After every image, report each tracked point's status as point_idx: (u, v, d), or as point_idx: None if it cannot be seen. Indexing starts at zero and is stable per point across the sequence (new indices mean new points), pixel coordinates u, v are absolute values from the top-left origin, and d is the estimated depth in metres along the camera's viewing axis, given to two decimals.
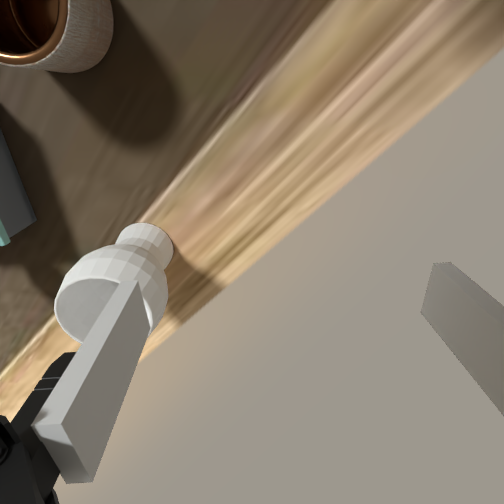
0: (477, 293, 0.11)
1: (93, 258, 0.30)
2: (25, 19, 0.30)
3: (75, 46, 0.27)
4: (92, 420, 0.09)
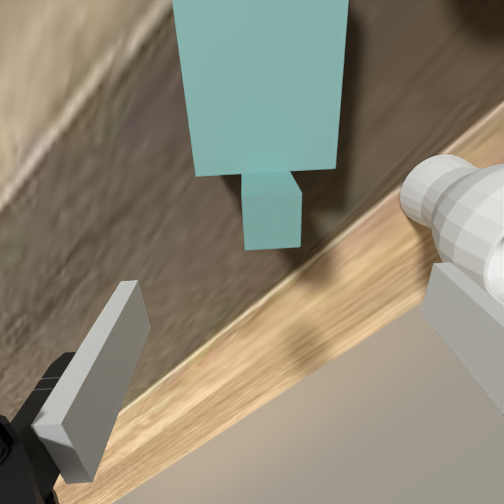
0: (477, 293, 0.11)
1: None
2: None
3: None
4: (92, 420, 0.09)
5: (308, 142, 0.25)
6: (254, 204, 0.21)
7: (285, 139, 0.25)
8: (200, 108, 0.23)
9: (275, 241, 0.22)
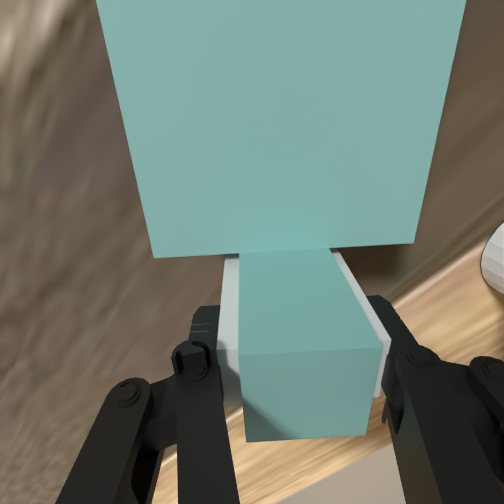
0: None
1: None
2: None
3: None
4: None
5: (367, 198, 0.13)
6: (267, 368, 0.09)
7: (323, 193, 0.13)
8: (154, 136, 0.11)
9: (313, 427, 0.10)
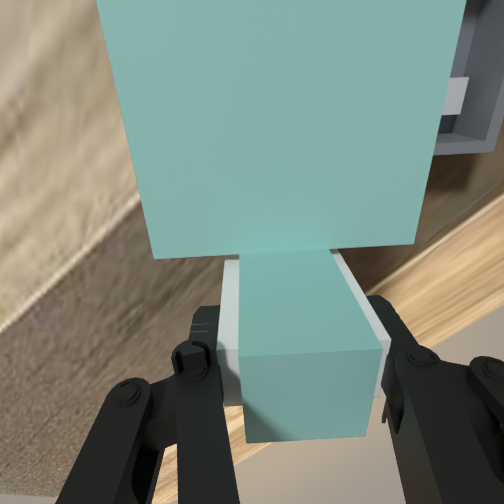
0: (341, 270, 0.13)
1: None
2: None
3: None
4: None
5: (367, 199, 0.13)
6: (267, 370, 0.09)
7: (323, 194, 0.13)
8: (155, 137, 0.11)
9: (313, 428, 0.10)
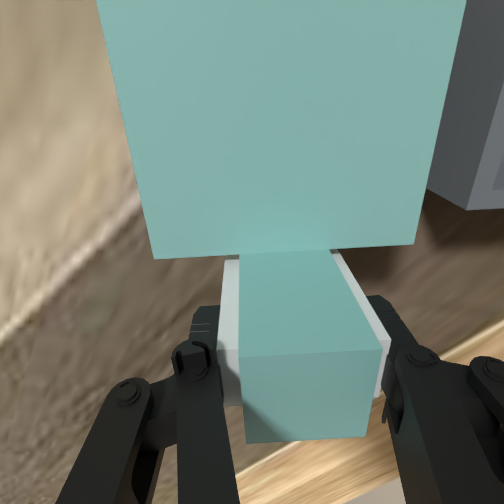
0: (341, 270, 0.13)
1: None
2: None
3: None
4: None
5: (367, 200, 0.13)
6: (268, 370, 0.09)
7: (324, 194, 0.13)
8: (155, 137, 0.11)
9: (313, 428, 0.10)
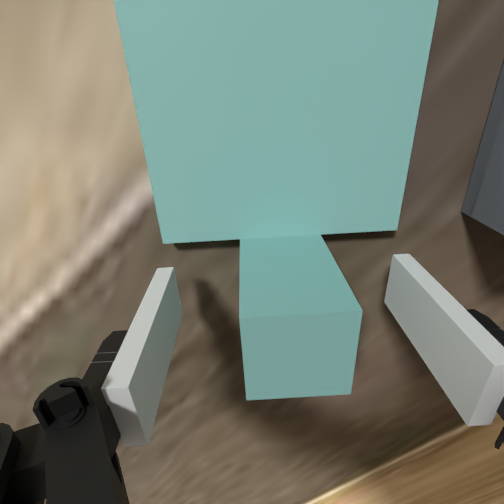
0: (427, 281, 0.12)
1: None
2: None
3: None
4: (147, 389, 0.10)
5: (354, 189, 0.14)
6: (264, 330, 0.10)
7: (315, 184, 0.14)
8: (165, 133, 0.13)
9: (304, 386, 0.12)
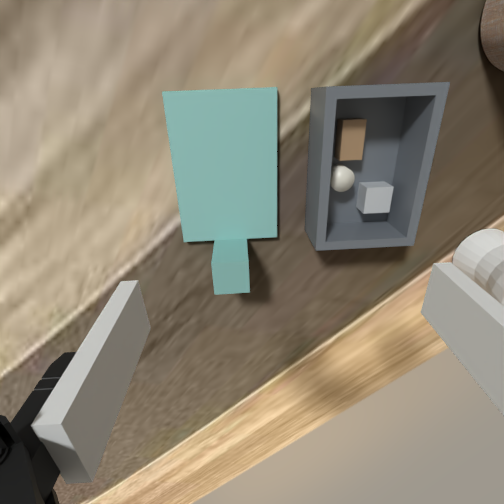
0: (477, 293, 0.11)
1: None
2: None
3: None
4: (92, 420, 0.09)
5: (257, 221, 0.38)
6: (219, 267, 0.34)
7: (242, 219, 0.38)
8: (187, 202, 0.36)
9: (234, 288, 0.35)
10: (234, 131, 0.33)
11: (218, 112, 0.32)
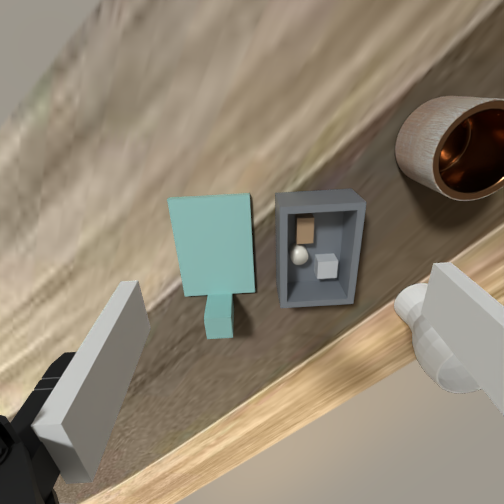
0: (477, 293, 0.11)
1: None
2: None
3: None
4: (92, 420, 0.09)
5: (239, 281, 0.50)
6: (209, 321, 0.46)
7: (228, 280, 0.50)
8: (186, 269, 0.49)
9: (221, 335, 0.48)
10: (219, 223, 0.46)
11: (207, 211, 0.45)
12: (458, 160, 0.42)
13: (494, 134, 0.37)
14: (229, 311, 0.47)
